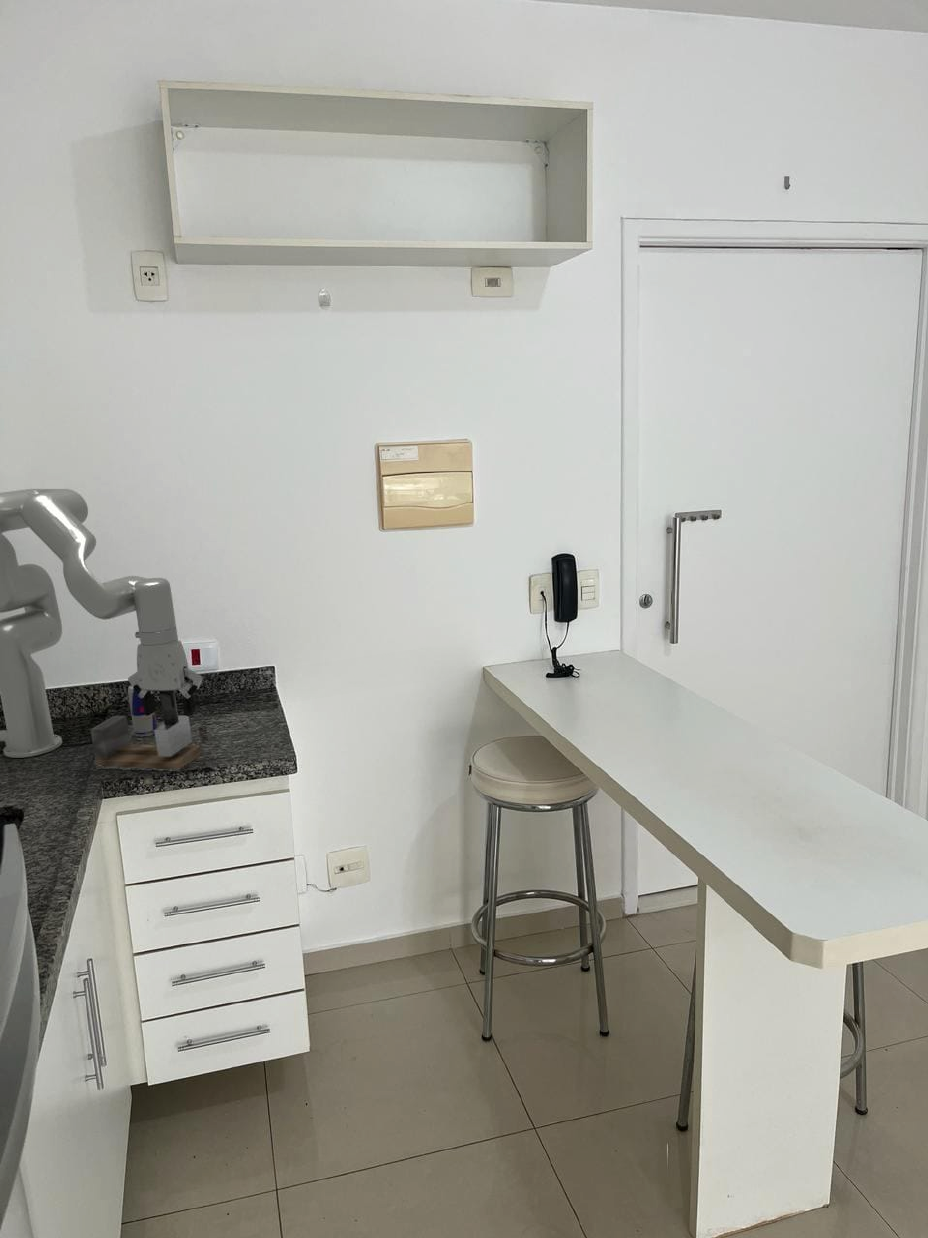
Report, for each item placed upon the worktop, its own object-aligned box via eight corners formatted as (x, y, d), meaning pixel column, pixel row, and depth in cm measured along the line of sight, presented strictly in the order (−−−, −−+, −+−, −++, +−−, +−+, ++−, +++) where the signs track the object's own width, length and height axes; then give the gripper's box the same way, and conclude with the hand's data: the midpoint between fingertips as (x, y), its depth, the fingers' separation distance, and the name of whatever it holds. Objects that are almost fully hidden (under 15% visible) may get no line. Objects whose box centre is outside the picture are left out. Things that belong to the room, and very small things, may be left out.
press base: (95, 769, 204) (88, 730, 202) (121, 752, 214) (115, 714, 212) (178, 771, 200) (172, 731, 198) (201, 754, 209) (195, 715, 207)
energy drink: (150, 737, 222) (143, 689, 220) (130, 737, 223) (122, 689, 221) (162, 729, 227) (155, 682, 225) (142, 729, 229) (134, 682, 226)
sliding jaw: (158, 756, 201) (148, 693, 197) (179, 741, 209) (171, 681, 206) (170, 756, 200) (161, 694, 197) (192, 741, 208) (183, 681, 205)
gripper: (112, 641, 197) (124, 719, 201) (186, 641, 193) (198, 720, 197) (132, 632, 204) (144, 707, 208) (204, 631, 200) (215, 708, 204)
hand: (170, 713), depth 203 cm, fingers open, 9 cm apart
